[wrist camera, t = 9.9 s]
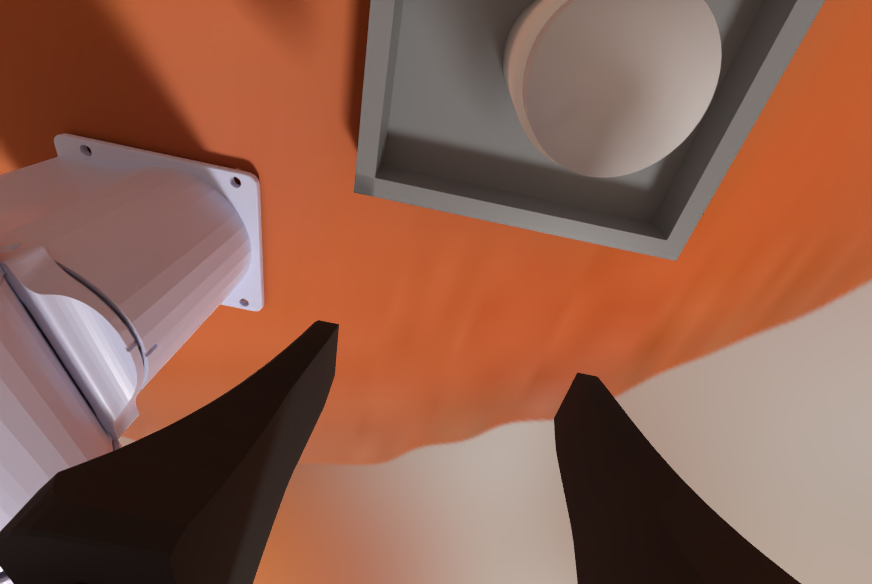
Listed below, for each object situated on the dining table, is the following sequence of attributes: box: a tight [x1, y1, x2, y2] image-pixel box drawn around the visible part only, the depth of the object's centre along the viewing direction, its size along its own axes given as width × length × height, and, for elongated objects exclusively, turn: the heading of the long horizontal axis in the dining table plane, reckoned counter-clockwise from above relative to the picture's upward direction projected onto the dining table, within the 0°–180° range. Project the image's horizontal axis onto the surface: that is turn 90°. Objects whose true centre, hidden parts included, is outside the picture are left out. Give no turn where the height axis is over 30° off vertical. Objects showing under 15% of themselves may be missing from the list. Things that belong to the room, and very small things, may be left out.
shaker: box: [503, 0, 722, 178], centre depth 13 cm, size 4×4×8 cm
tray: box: [354, 0, 825, 261], centre depth 16 cm, size 14×12×2 cm
